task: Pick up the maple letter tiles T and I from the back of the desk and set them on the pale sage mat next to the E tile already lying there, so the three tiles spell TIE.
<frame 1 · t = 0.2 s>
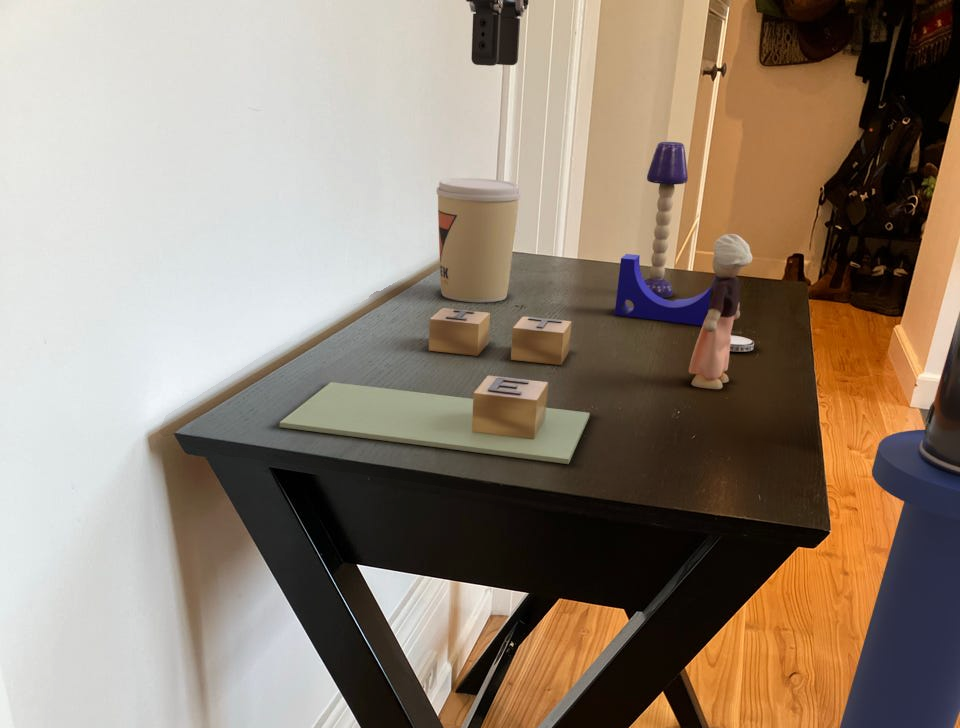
hand: (495, 65, 89), 24 cm above the table, tool pointing down, fingers open, 8 cm apart
tile T: (540, 356, 96), on the table
toy lamp: (652, 296, 122), on the table
grandmother figurine: (707, 385, 91), on the table
word mat: (439, 422, 78), on the table
tile E: (509, 425, 77), resting on word mat
blue curved cradle: (670, 318, 113), on the table
coffee cup: (473, 296, 117), on the table
tile I: (459, 347, 97), on the table
washi tape: (732, 348, 102), on the table
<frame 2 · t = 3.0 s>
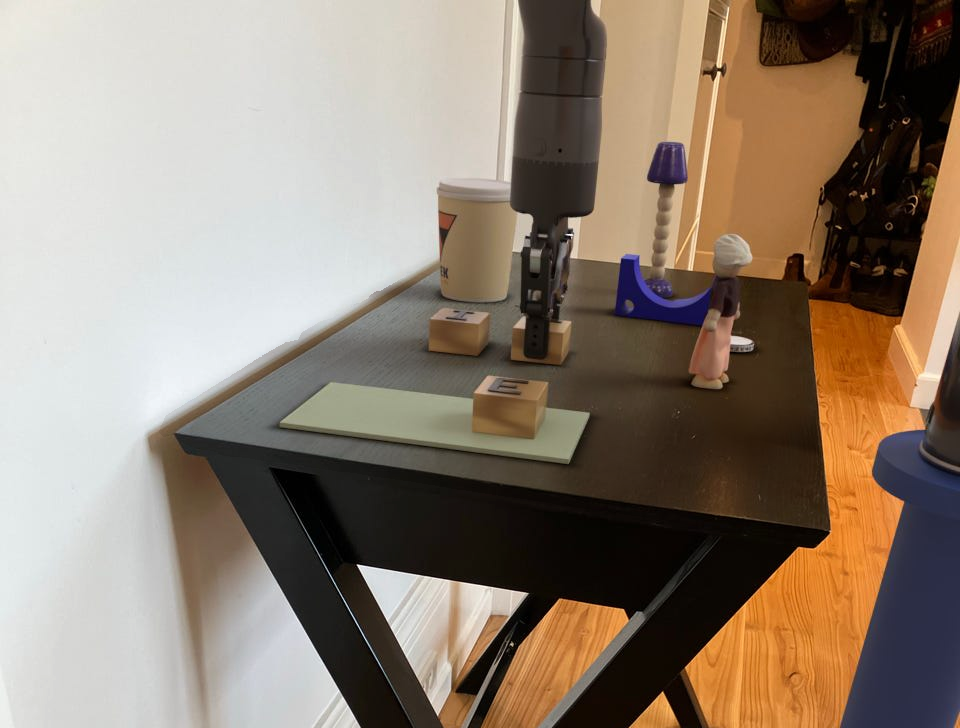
hand: (540, 350, 96), 1 cm above the table, tool pointing down, fingers closed on tile T, 4 cm apart
tile T: (540, 356, 96), on the table, touching gripper
everything else where it was.
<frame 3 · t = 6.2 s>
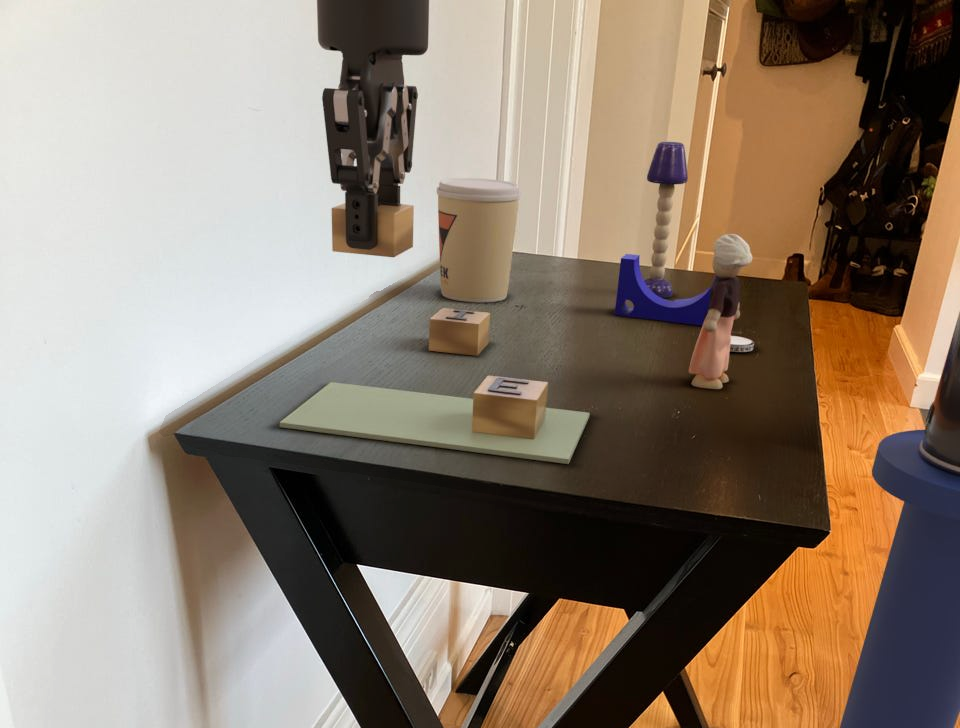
hand: (373, 241, 75), 12 cm above the table, tool pointing down, fingers closed on tile T, 4 cm apart
tile T: (373, 249, 76), point 12 cm above the table, touching gripper
everything else where it was.
when the fingers open (1 cm above the table, at t = 9.4 s): tile T stays where it is, resting on word mat.
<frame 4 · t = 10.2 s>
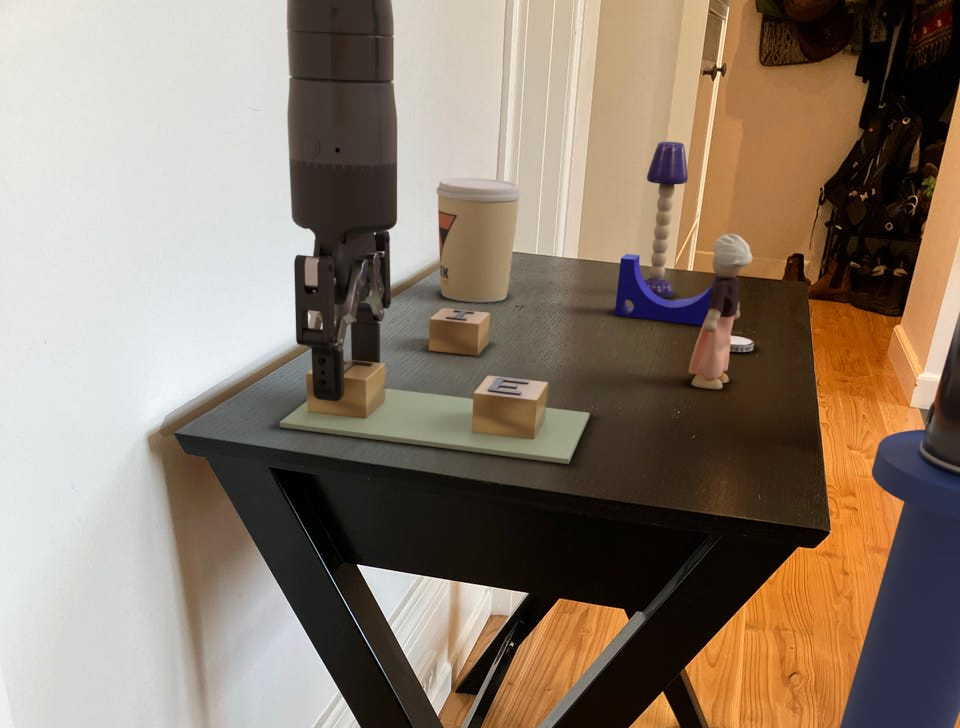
hand: (348, 383, 78), 2 cm above the table, tool pointing down, fingers open, 8 cm apart
tile T: (347, 405, 79), resting on word mat
everything else where it was.
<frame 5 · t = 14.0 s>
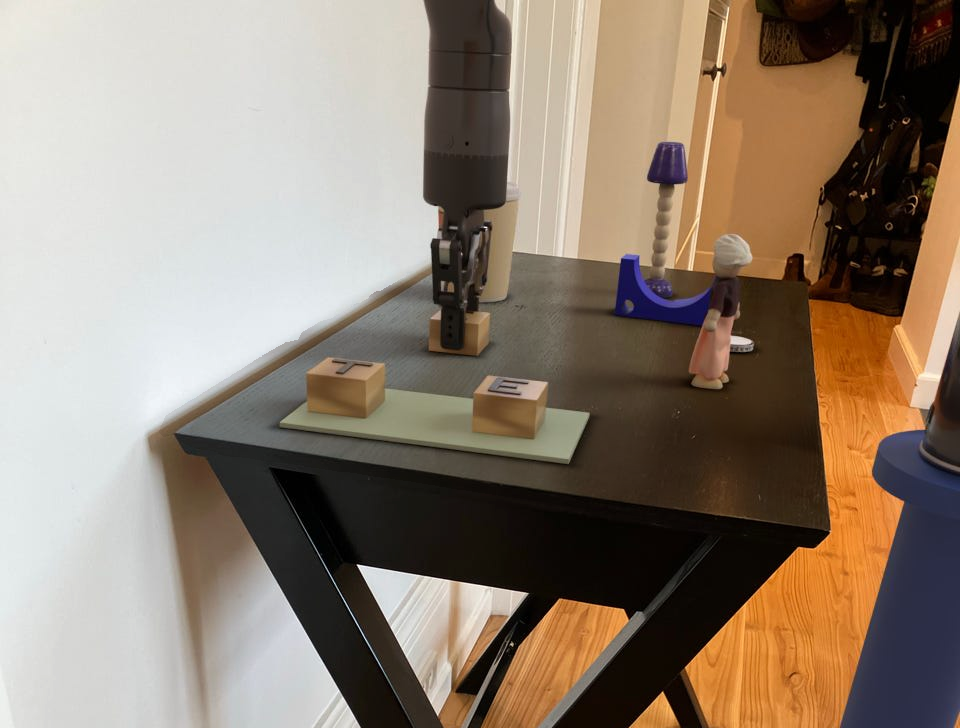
hand: (459, 341, 97), 1 cm above the table, tool pointing down, fingers closed on tile I, 4 cm apart
tile I: (459, 347, 97), on the table, touching gripper
everything else where it was.
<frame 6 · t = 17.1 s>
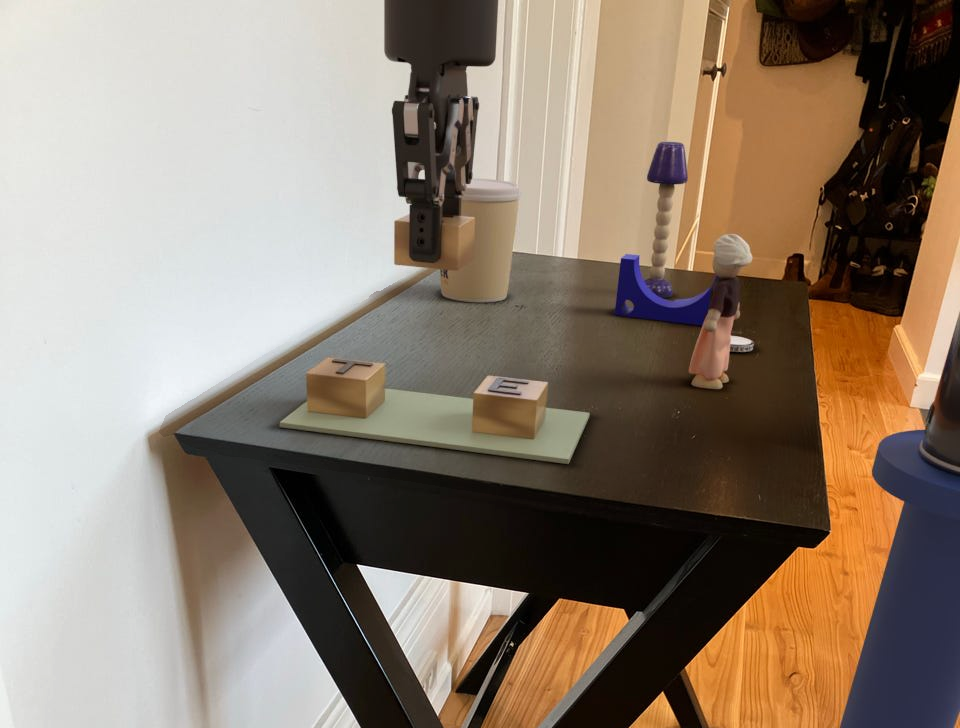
hand: (435, 254, 74), 12 cm above the table, tool pointing down, fingers closed on tile I, 4 cm apart
tile I: (434, 262, 75), point 11 cm above the table, touching gripper
everything else where it was.
when the fingers open (1 cm above the table, at t = 20.2 s): tile I stays where it is, resting on word mat.
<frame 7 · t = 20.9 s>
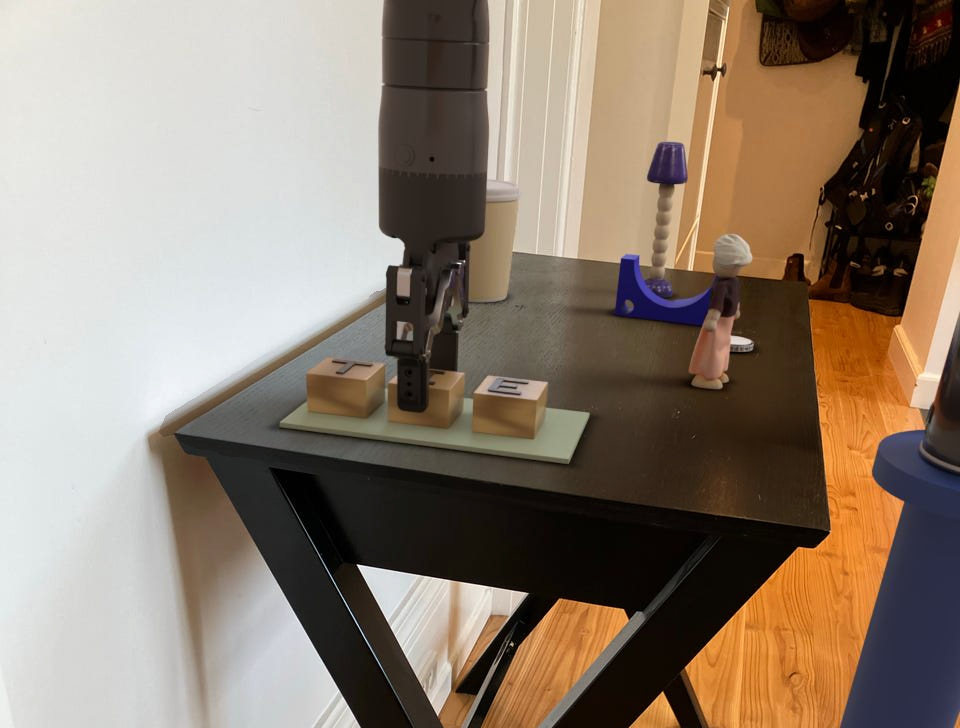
hand: (428, 394, 77), 2 cm above the table, tool pointing down, fingers open, 8 cm apart
tile I: (426, 415, 78), resting on word mat
everything else where it was.
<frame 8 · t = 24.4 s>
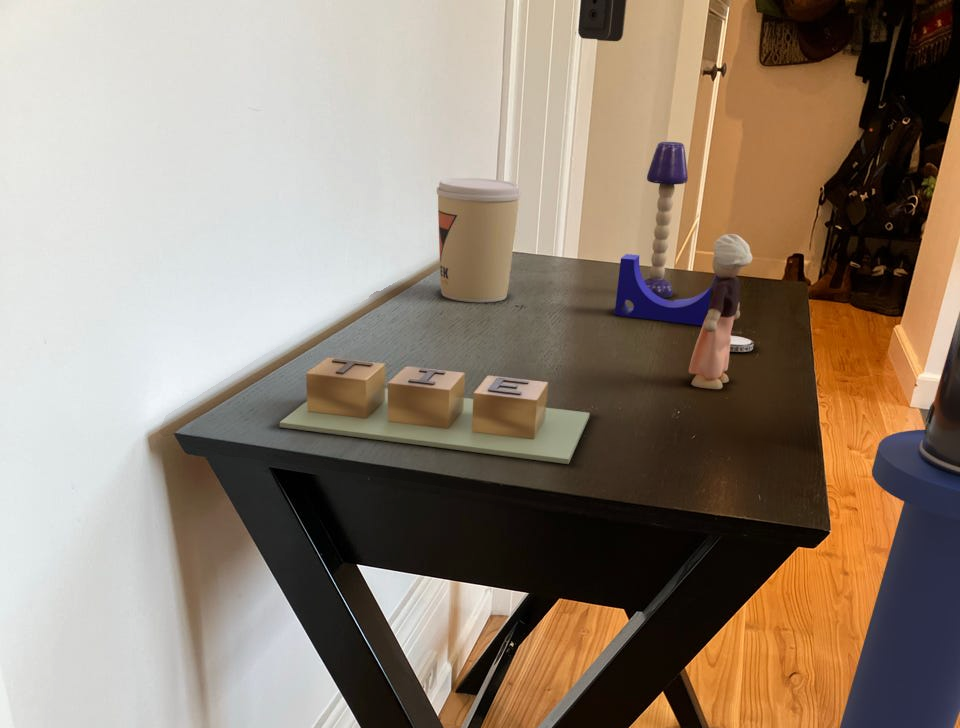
hand: (601, 40, 75), 26 cm above the table, tool pointing down, fingers open, 8 cm apart
nothing on the table moved.
at the end: tile T 0.2 cm from the target spot on the word mat, point 0.4 cm above the word mat's base; tile I 0.1 cm from the target spot on the word mat, point 0.4 cm above the word mat's base; tile E moved 0.0 cm from its start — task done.
